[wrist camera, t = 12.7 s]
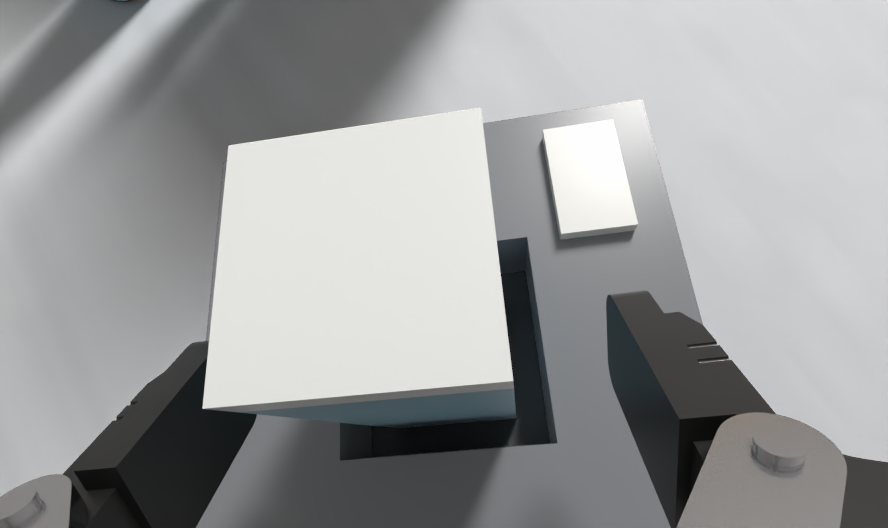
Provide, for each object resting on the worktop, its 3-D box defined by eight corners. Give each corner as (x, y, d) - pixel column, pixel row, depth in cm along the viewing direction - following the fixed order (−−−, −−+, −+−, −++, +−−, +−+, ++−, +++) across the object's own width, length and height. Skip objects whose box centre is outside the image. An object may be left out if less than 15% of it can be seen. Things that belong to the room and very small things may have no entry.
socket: (241, 615, 17) (162, 665, 13) (266, 202, 22) (216, 155, 19) (728, 593, 15) (796, 642, 11) (622, 152, 21) (645, 89, 17)
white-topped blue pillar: (395, 428, 18) (202, 408, 7) (391, 311, 20) (228, 145, 9) (516, 418, 18) (512, 380, 7) (502, 299, 19) (481, 107, 8)
